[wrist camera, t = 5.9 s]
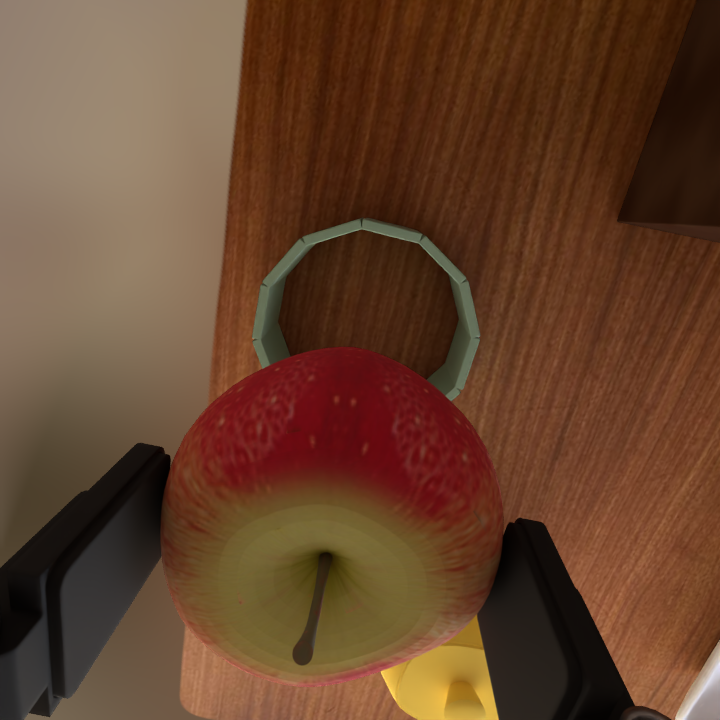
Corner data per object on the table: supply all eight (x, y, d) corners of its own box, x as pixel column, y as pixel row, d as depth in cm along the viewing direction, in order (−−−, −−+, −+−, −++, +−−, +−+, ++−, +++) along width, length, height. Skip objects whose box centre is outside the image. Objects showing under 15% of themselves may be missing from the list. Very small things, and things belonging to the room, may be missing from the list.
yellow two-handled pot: (554, 596, 41) (619, 744, 29) (416, 651, 44) (427, 805, 32) (483, 481, 37) (526, 599, 26) (339, 550, 40) (321, 682, 29)
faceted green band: (245, 253, 32) (221, 261, 28) (438, 193, 30) (448, 191, 26) (307, 425, 36) (296, 457, 32) (481, 382, 34) (497, 410, 30)
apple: (488, 326, 15) (671, 557, 5) (443, 535, 17) (507, 926, 8) (238, 295, 15) (-26, 464, 5) (234, 508, 18) (57, 860, 8)
